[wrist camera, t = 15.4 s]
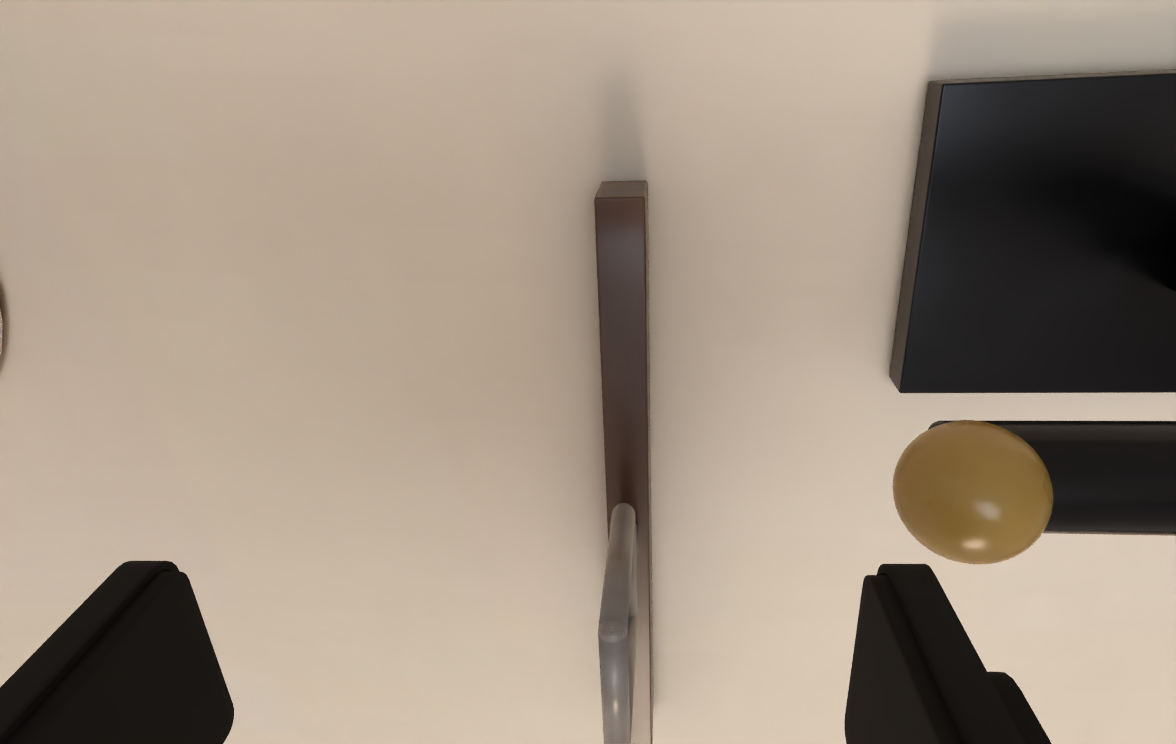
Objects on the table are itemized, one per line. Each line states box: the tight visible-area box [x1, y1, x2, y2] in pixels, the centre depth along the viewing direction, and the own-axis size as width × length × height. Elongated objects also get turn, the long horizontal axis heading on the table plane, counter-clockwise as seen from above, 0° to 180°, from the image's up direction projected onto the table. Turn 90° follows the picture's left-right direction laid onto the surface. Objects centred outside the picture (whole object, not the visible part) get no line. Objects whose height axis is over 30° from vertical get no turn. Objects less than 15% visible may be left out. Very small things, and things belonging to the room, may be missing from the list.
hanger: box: [594, 181, 653, 744], centre depth 22 cm, size 1×22×10 cm, turn 3°
